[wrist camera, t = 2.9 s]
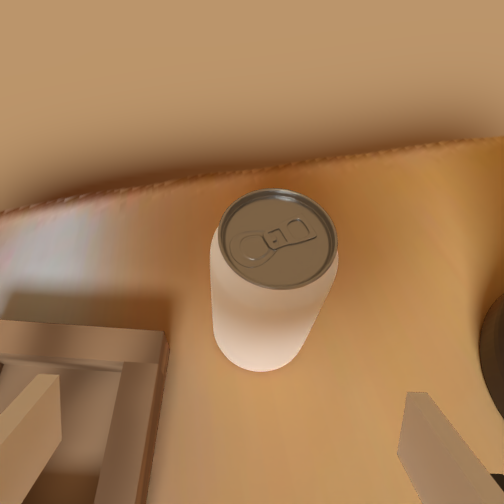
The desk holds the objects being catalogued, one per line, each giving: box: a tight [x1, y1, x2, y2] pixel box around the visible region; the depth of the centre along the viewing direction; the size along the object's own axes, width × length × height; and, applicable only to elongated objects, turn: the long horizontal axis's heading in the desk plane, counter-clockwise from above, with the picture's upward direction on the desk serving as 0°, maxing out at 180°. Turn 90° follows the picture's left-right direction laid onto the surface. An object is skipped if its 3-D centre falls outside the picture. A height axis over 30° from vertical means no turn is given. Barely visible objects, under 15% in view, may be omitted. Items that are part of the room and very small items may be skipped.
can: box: [210, 188, 338, 372], centre depth 25 cm, size 6×6×12 cm
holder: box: [0, 320, 170, 504], centre depth 24 cm, size 12×12×4 cm
